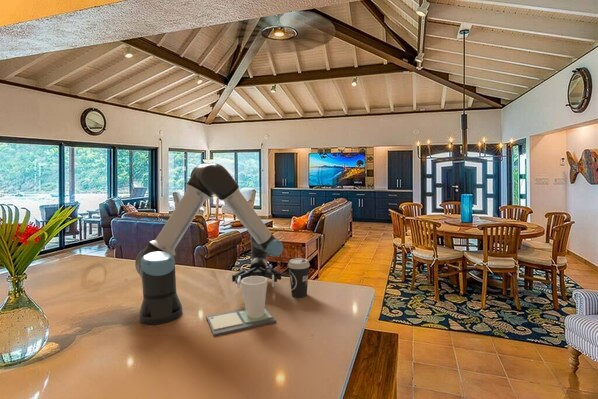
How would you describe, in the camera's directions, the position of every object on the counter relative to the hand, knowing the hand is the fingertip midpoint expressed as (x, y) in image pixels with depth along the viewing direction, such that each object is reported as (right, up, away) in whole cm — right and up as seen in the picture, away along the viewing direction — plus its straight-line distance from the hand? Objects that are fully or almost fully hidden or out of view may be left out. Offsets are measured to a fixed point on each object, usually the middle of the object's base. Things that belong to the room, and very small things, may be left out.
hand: (255, 284), depth 135 cm
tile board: (-4, -11, -10) cm, 15 cm away
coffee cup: (+17, -8, +13) cm, 23 cm away
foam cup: (+1, -9, -8) cm, 12 cm away
